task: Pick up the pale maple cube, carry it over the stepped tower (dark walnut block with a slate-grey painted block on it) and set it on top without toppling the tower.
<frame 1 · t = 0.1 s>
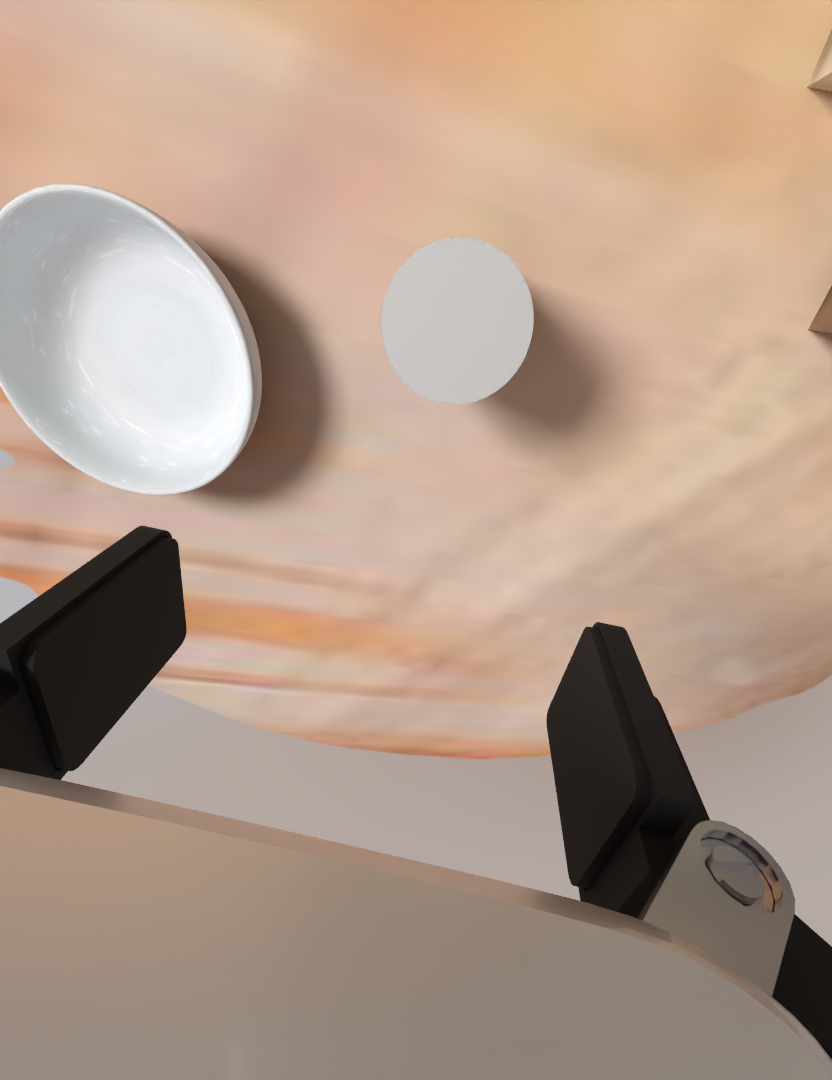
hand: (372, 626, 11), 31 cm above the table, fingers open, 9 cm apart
cup: (463, 314, 36), on the table
serving bowl: (169, 350, 40), on the table
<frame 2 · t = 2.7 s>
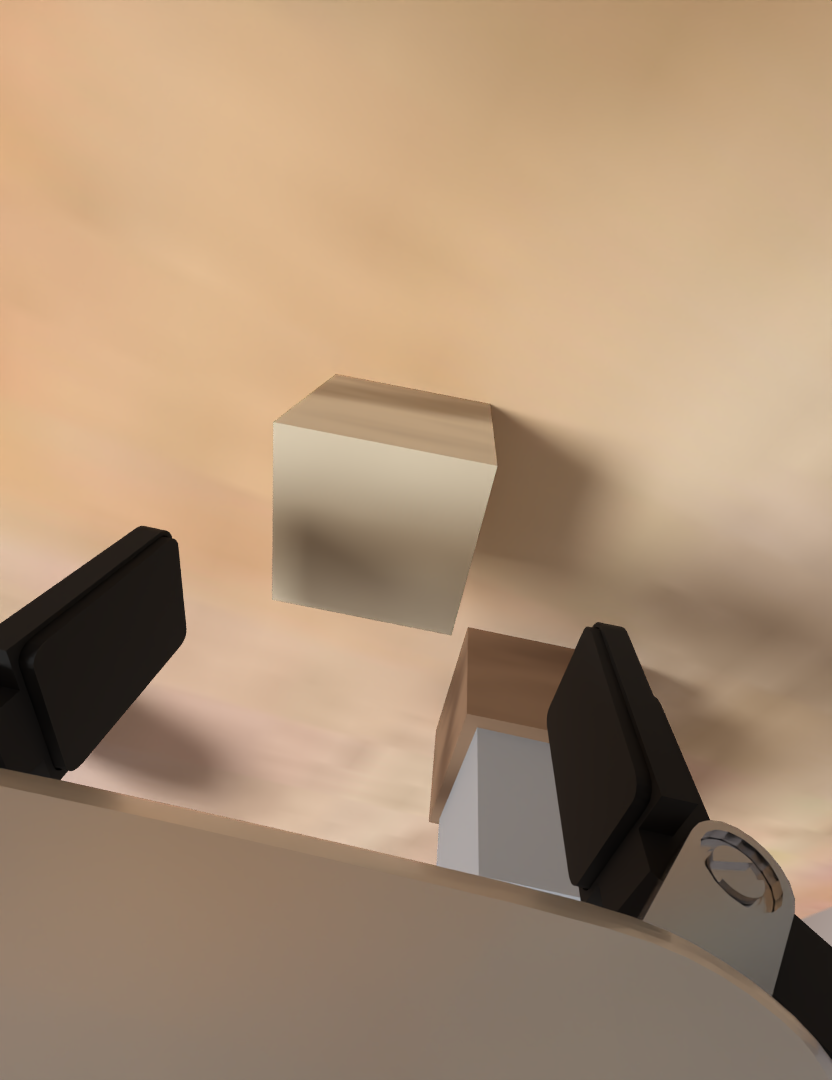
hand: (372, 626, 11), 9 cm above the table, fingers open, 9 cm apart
maple cube: (401, 461, 18), on the table
grey block: (533, 794, 19), point 5 cm above the table, touching walnut block
walnut block: (523, 695, 24), on the table, touching grey block
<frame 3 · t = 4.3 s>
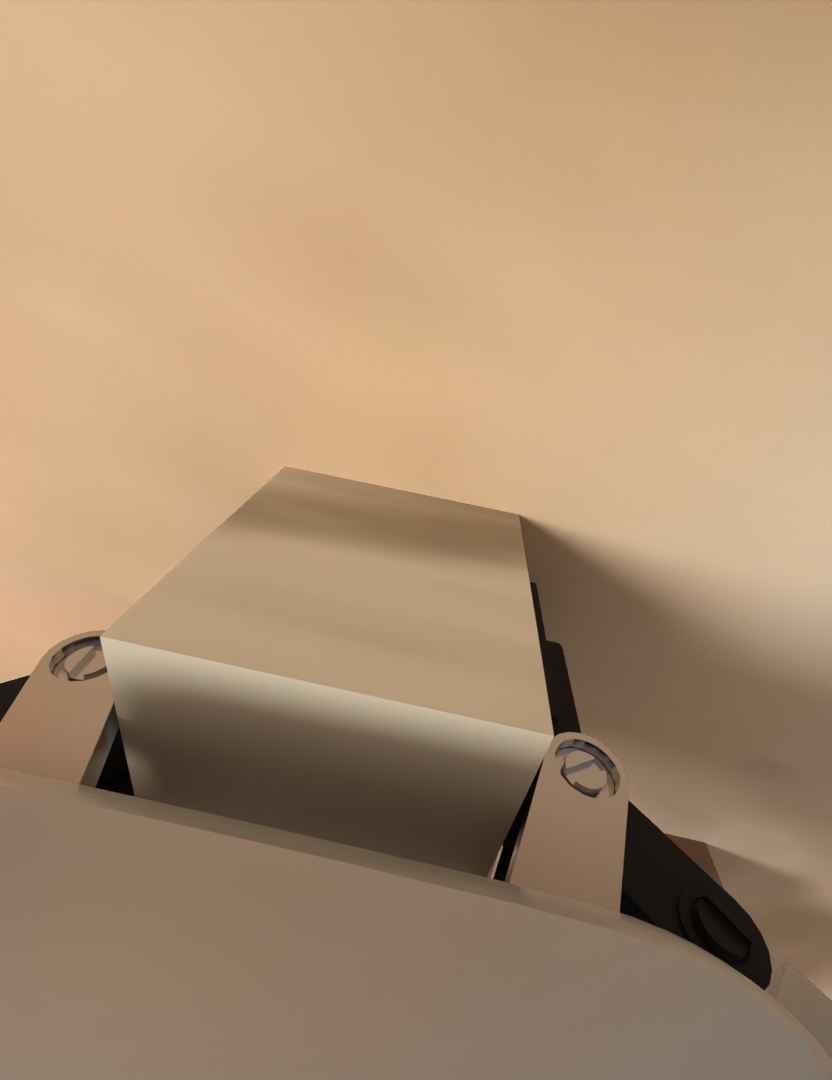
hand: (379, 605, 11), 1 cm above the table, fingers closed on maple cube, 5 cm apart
maple cube: (385, 587, 12), on the table, touching gripper
walnut block: (555, 869, 17), on the table, touching grey block
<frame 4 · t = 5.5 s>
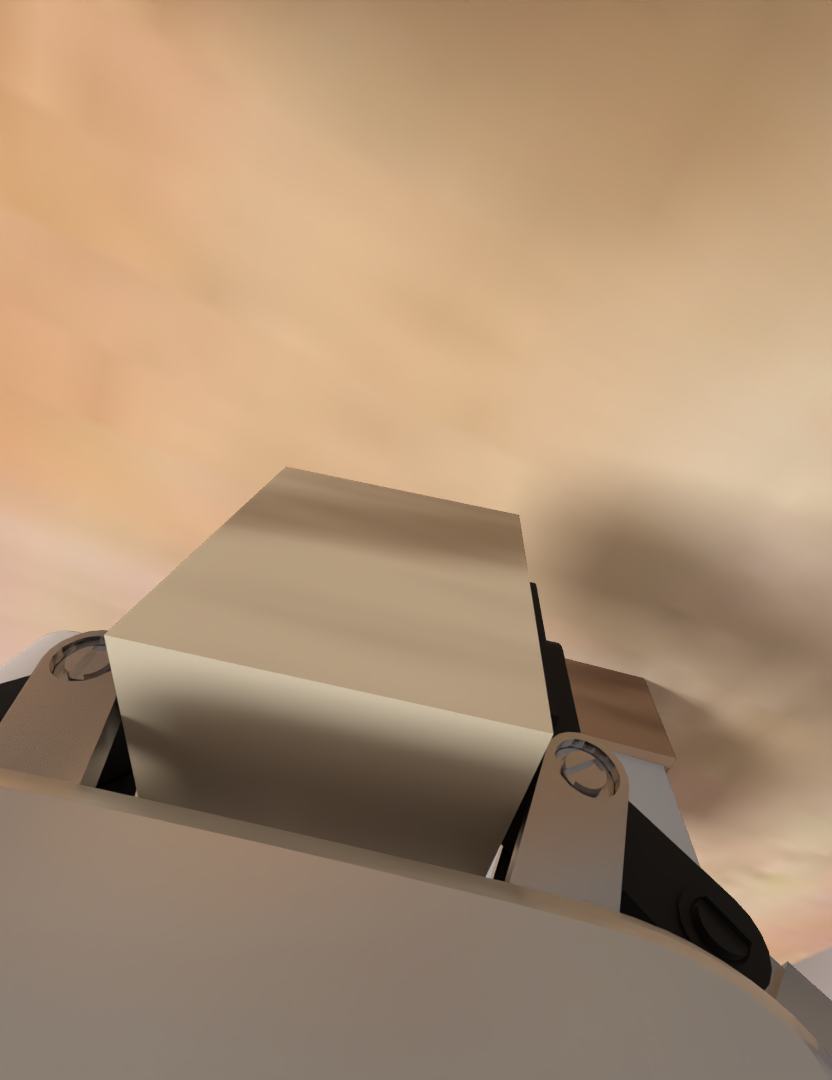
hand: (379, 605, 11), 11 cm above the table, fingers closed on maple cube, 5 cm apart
cup: (93, 679, 31), on the table
maple cube: (385, 586, 12), point 10 cm above the table, touching gripper
grey block: (561, 791, 22), point 5 cm above the table, touching walnut block
walnut block: (548, 708, 26), on the table, touching grey block
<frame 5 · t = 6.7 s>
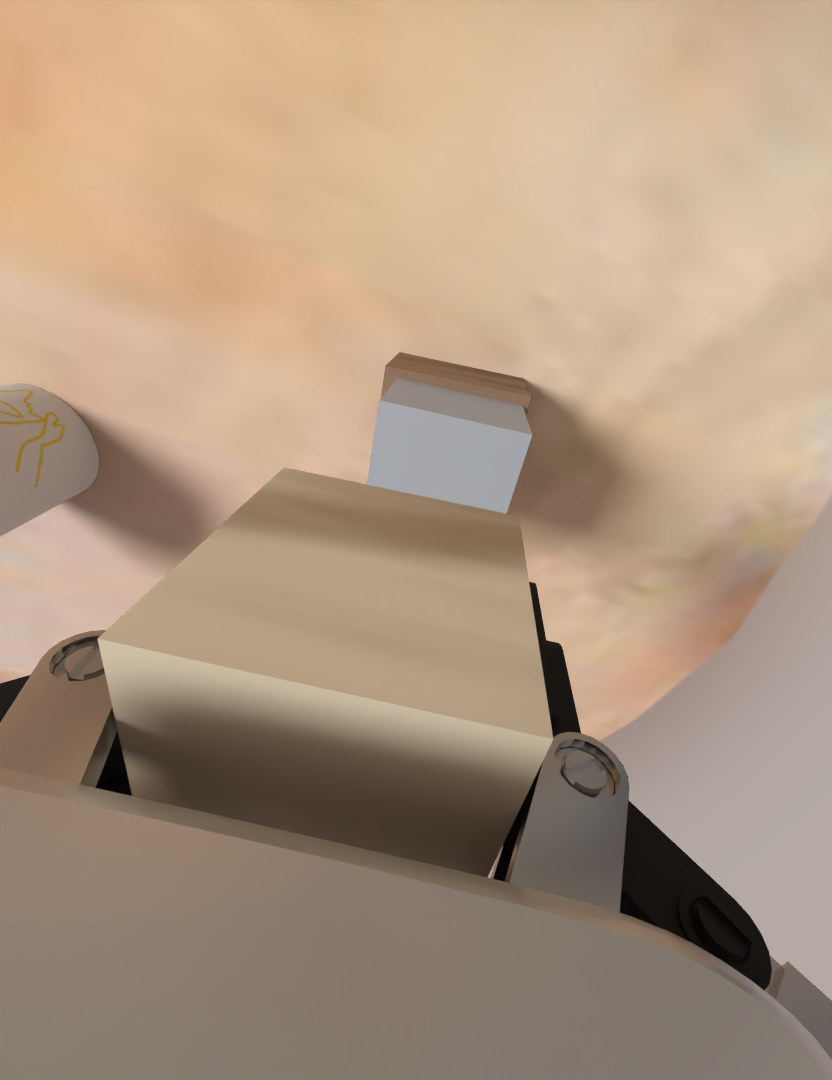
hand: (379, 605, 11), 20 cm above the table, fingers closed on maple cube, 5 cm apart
cup: (45, 441, 34), on the table
maple cube: (384, 588, 12), point 20 cm above the table, touching gripper
grey block: (445, 451, 25), point 5 cm above the table, touching walnut block
walnut block: (448, 426, 30), on the table, touching grey block
when the fingers open (12 cm above the table, at t = 9.1 s): maple cube drops 1 cm, resting on grey block.
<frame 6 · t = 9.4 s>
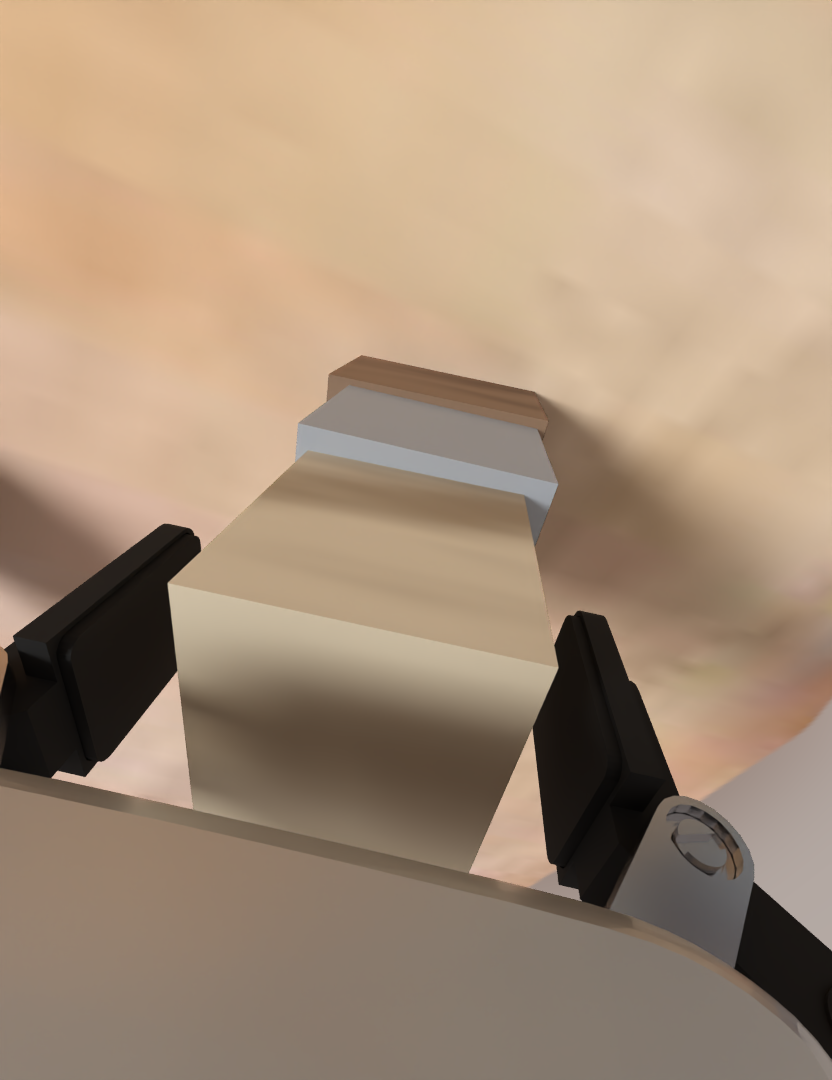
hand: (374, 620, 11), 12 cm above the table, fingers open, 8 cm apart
maple cube: (398, 564, 13), point 10 cm above the table, touching grey block
grey block: (423, 493, 17), point 5 cm above the table, touching maple cube, walnut block
walnut block: (430, 455, 22), on the table, touching grey block
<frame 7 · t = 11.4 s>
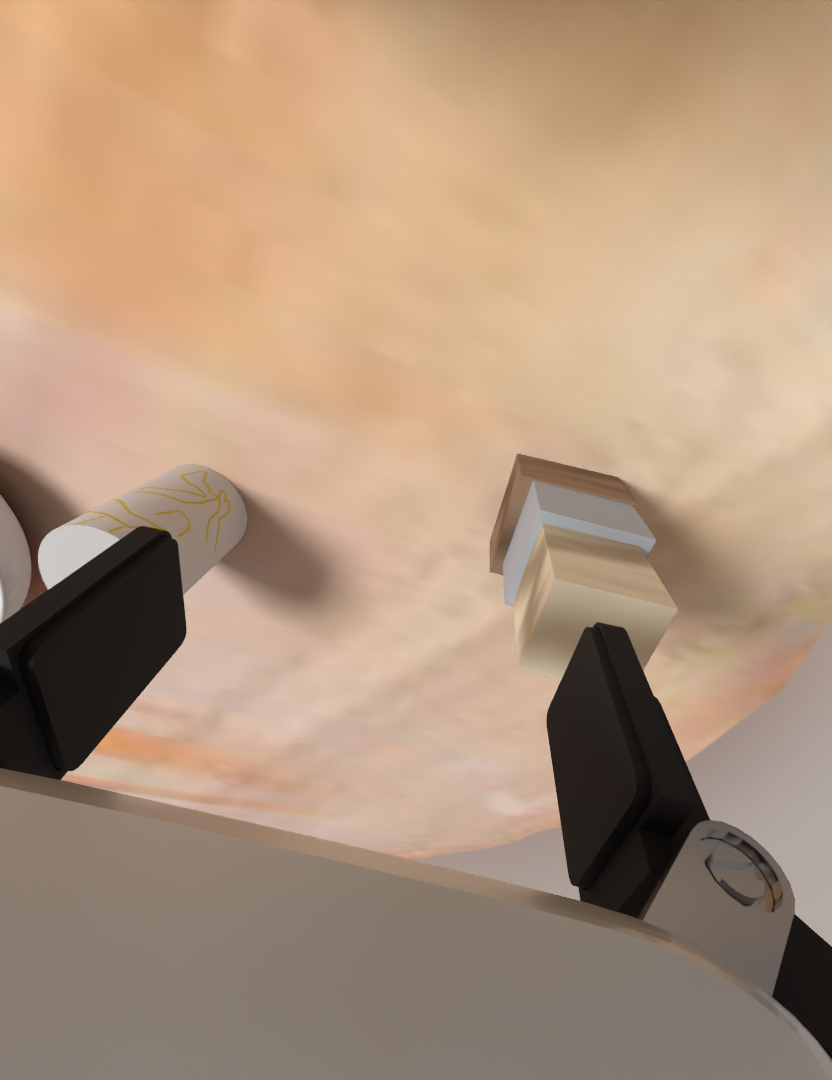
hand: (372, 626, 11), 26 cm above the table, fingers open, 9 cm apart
cup: (203, 509, 41), on the table
maple cube: (573, 575, 27), point 10 cm above the table
grey block: (564, 536, 32), point 5 cm above the table, touching walnut block
walnut block: (550, 510, 36), on the table, touching grey block
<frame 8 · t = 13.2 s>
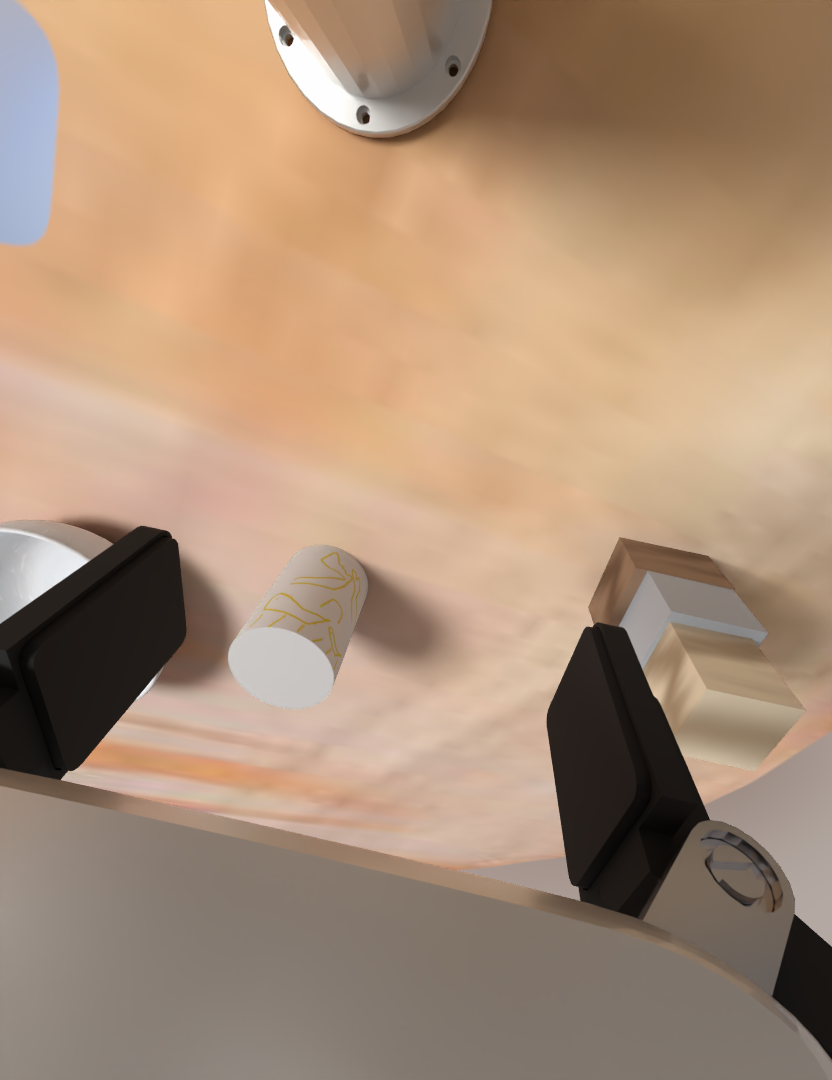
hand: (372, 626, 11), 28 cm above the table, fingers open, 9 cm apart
cup: (327, 580, 46), on the table
maple cube: (691, 660, 33), point 10 cm above the table, touching grey block
serving bowl: (103, 586, 50), on the table
grey block: (670, 613, 37), point 5 cm above the table, touching maple cube, walnut block
walnut block: (644, 582, 41), on the table, touching grey block
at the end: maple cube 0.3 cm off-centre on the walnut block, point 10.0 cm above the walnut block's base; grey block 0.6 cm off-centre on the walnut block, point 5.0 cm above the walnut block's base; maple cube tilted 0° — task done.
